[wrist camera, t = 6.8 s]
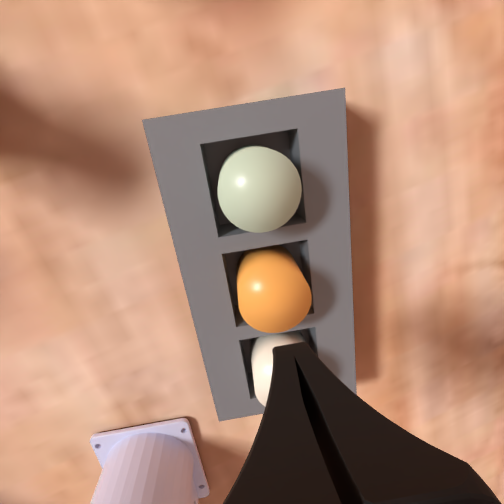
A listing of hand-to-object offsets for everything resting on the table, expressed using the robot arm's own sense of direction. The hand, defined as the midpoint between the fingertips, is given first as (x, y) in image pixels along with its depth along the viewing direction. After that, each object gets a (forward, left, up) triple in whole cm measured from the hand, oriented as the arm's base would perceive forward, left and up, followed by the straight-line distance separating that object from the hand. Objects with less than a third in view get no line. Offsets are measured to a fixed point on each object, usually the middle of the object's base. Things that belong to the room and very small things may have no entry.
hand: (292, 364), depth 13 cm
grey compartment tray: (0, 0, -10) cm, 10 cm away
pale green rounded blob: (+6, 0, -9) cm, 11 cm away
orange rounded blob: (0, 0, -9) cm, 9 cm away
